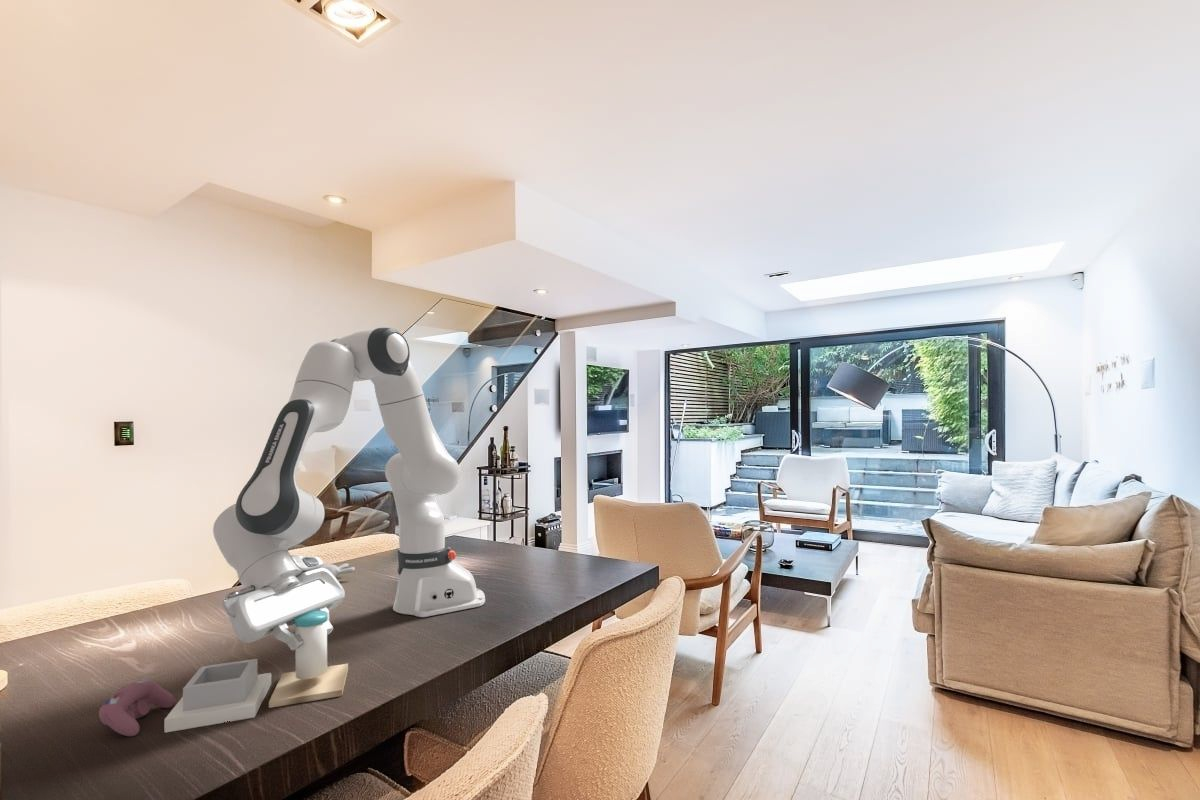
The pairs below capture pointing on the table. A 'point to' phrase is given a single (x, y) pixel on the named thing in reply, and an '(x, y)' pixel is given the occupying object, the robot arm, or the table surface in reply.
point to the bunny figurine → (338, 569)
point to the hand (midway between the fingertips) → (314, 639)
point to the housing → (219, 696)
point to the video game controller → (133, 705)
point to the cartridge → (311, 644)
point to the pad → (309, 687)
